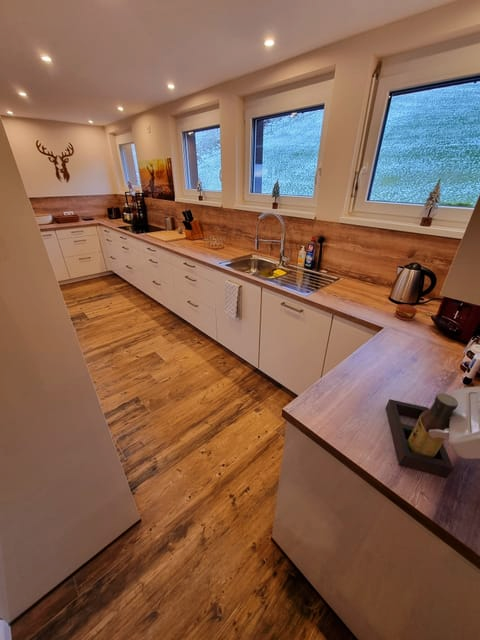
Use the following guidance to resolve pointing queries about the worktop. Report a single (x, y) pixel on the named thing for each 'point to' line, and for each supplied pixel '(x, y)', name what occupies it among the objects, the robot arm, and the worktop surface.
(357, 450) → the worktop surface
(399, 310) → the hamburger
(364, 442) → the worktop surface
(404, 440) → the caddy
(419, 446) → the sauce bottle
